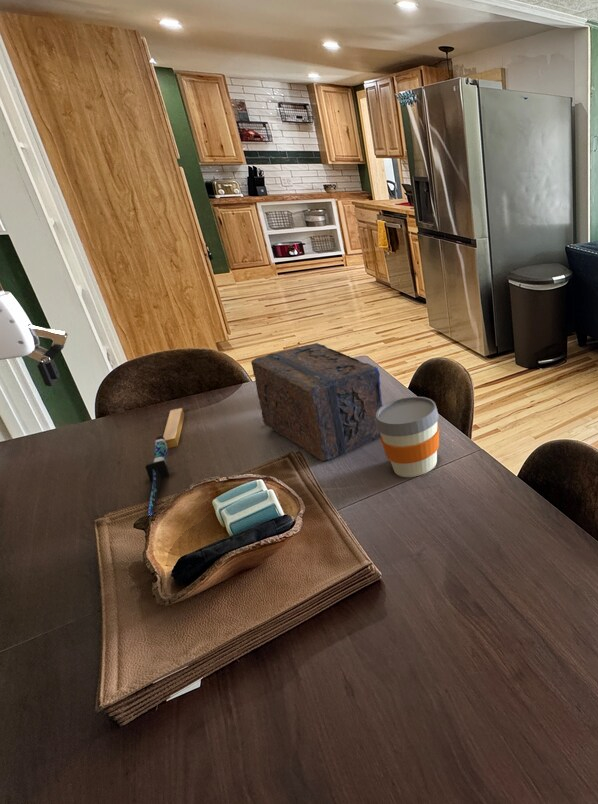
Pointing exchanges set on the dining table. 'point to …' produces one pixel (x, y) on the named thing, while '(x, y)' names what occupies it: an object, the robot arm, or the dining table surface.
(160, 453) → the knife
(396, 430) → the reusable coffee cup
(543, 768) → the dining table surface
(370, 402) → the decorative box
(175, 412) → the tan wooden bar
